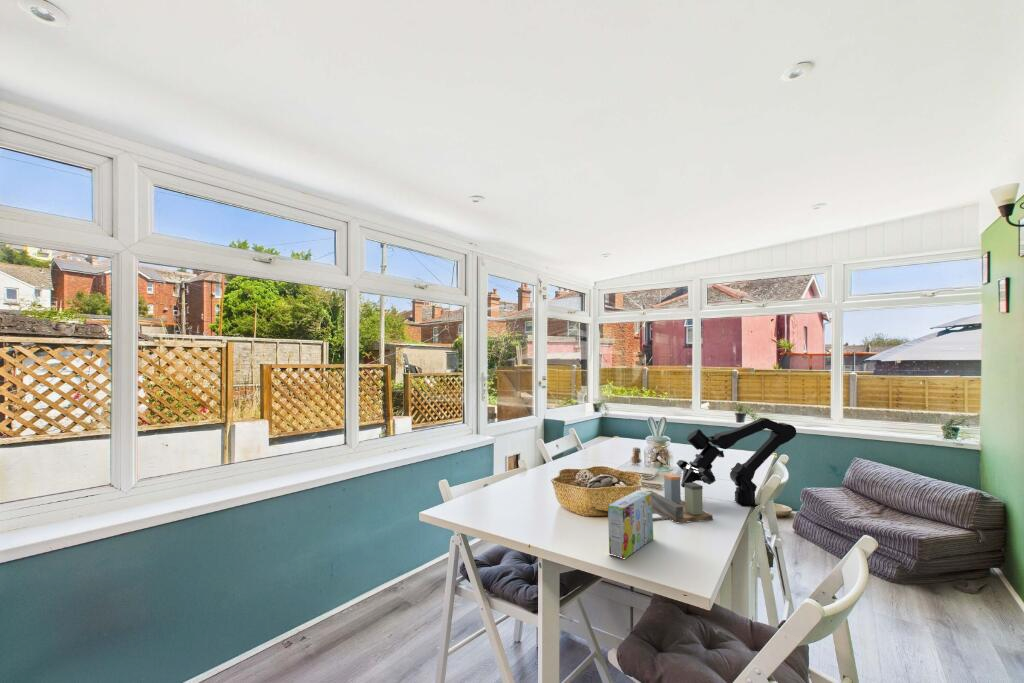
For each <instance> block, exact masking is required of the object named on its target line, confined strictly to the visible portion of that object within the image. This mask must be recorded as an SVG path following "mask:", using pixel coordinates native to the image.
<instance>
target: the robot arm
mask: <svg viewBox="0 0 1024 683" xmlns="http://www.w3.org/2000/svg"><path fill="white" fill-rule="evenodd" d="M765 429H768V430H769V431H771V432H770V434H769V438H768V439H767V440H765V441H764V443H763V444H761V446H760V447H759V448H758V449H757V450H756V451H755V452H754V453H753V454H752V455H751V456H750V458H748V459H747V460H746V461H745V462H744V463H740V462H736V464H735V465H734V467H732V468H730V470H731V471H730V472H729V478H730V480H731V481H732V482H733V483H734V485H735V491H734V502H735V501H736V502H737V503H736V502H735V503H736V504H738V505H739V504H740V505H739V506H741V505H744V506H743V507H758V504H757V503H756V491H757V488H758V486H757V485H756V483H755V482H753V479H754V477H755V473H756V471H757V470H758V469H759V468H760V467H761V466H762V464H764V462H766V461H767V460H768V459H769V458H770V456H772V454H773V453H774V452H776V450H778V448H779V447H780V446H782V445H784V444H786V443H788V442H791V440H793V439H794V438H795V437H796V436H797V430H796V429H797V428H796V427H795V426H794V425H792V424H789V423H784V422H776V421H774V420H771V419H769V418H767V417H760V418H758V419H756V420H753V421H752V422H749V423H747V424H744V425H742V426H739V427H737V428H736V429H732V430H727V431H720V432H716V433H715V434H714V435H710V436H706V435H705V434H704V433H703V431H702V430H701V429H700V428H696V430H694V431H693V432H690V433H689V435H688V436H687V437H686V441H687V442H688V443H689V444H690V445H691V446H692V447H694V449H696V450H697V451H698V450H701V451H700V452H699V454H698V453H696V454H695V455H694V456H695V457H696V458H694V460H693V461H689V462H687V460H683V459H679V460H677V461H676V465H677V466H678V467H679V468H680V469H681V470H682V472H683V474H682V479H681V482H680V487H682V488H684V489H685V486H684V483H693V482H694V483H695V482H696V481H697V482H698V481H700V482H703V484H708V485H711V484H713V483H715V482H716V476H715V475H714V473H713V471H712V468H713V464H712V463H714V461H715V460H716V459H717V458H725V454H724V450H729V448H731V447H733V446H734V445H735V444H736V443H737V442H739V441H740V440H742V439H744V438H746V437H749V436H752V435H753V434H756V433H759V432H761V431H763V430H765ZM719 448H720V449H722V450H720V449H719ZM749 505H750V506H749Z"/></svg>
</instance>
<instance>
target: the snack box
mask: <svg viewBox="0 0 1024 683" xmlns="http://www.w3.org/2000/svg"><path fill="white" fill-rule="evenodd" d="M647 491H648V490H639V489H637V490H636V491H633V492H631V493H630V494H627V495H626V496H623V497H621V498H619V499H617V500H616V501H615V500H614V502H613V503H611V504H609V505H608V511H607V520H608V522H607V524H608V553H610V554H613V555H616V556H619V557H622V558H626V557H627V556H629V555H630V554H631V555H633V554H634V553H635V552H637V551H638V550H640V549H641V548H642V547H644V546H645V545H646V544H648V543H649V542H650V541H652V540H653V539H654V523H653V522H654V521H653V516H652V493H651V492H647ZM647 542H648V543H647ZM644 544H645V545H644ZM643 545H644V546H643ZM640 547H641V548H640ZM637 549H638V550H637ZM636 550H637V551H636ZM633 552H634V553H633ZM632 553H633V554H632ZM631 555H630V556H631ZM630 556H629V557H630ZM627 558H628V557H627ZM627 558H626V559H627Z"/></svg>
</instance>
